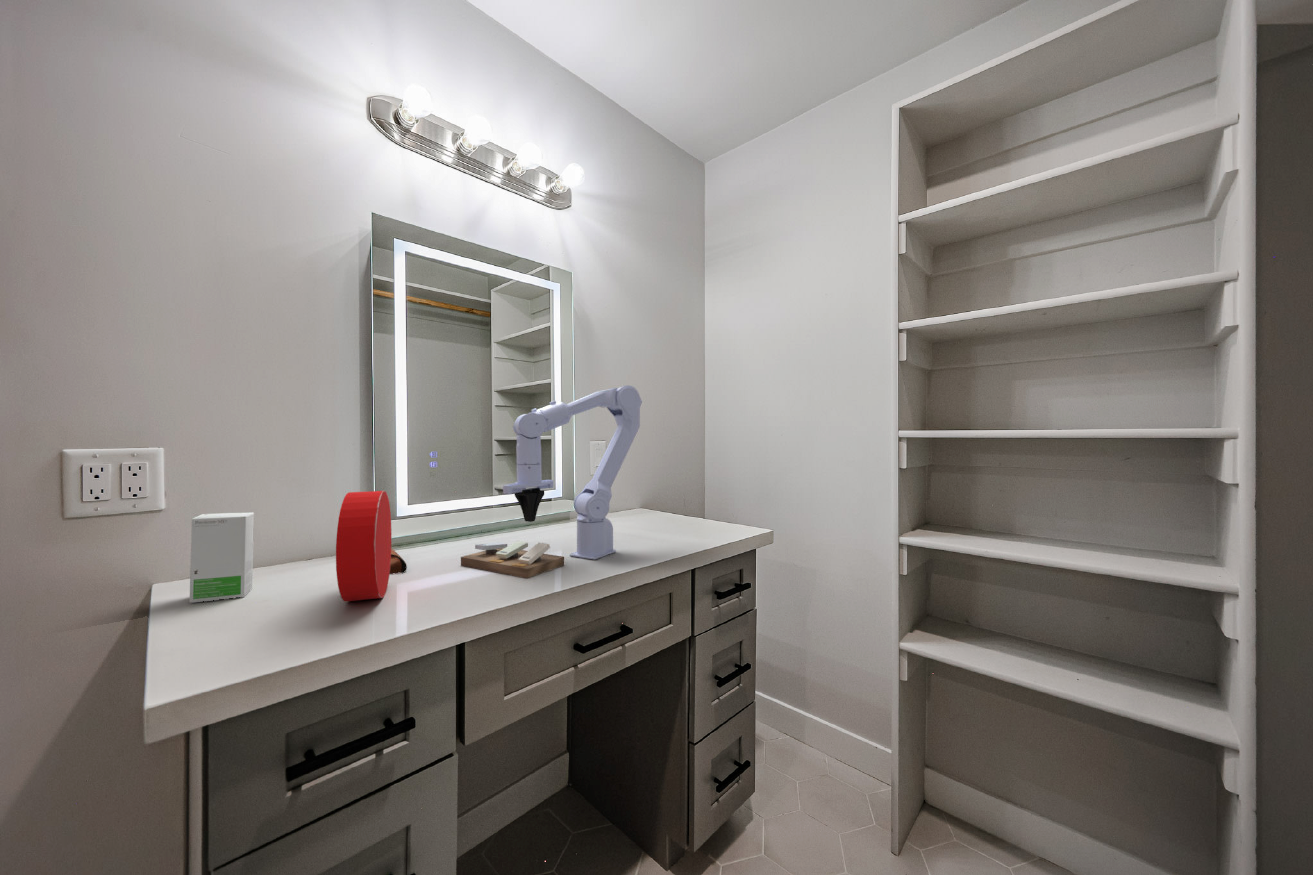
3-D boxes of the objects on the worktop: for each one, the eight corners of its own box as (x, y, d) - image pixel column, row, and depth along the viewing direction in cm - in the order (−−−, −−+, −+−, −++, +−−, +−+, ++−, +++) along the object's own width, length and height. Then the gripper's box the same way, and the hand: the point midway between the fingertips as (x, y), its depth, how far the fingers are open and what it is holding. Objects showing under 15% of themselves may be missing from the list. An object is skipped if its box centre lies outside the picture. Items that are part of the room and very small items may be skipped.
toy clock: (359, 584, 103) (359, 486, 103) (391, 581, 105) (391, 485, 105) (336, 617, 85) (335, 498, 84) (375, 613, 87) (374, 497, 87)
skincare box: (188, 604, 91) (187, 518, 91) (200, 594, 97) (199, 513, 97) (246, 597, 95) (245, 515, 95) (255, 587, 101) (254, 510, 101)
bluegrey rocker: (497, 546, 125) (498, 542, 125) (507, 547, 123) (507, 543, 123) (475, 548, 119) (475, 544, 119) (484, 550, 117) (484, 545, 117)
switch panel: (500, 554, 128) (500, 543, 128) (564, 565, 118) (564, 552, 118) (460, 565, 118) (460, 553, 118) (527, 578, 107) (527, 564, 107)
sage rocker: (518, 544, 121) (517, 540, 121) (528, 546, 120) (527, 542, 120) (496, 557, 115) (495, 552, 115) (506, 558, 114) (505, 554, 114)
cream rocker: (539, 546, 118) (538, 542, 117) (550, 547, 116) (549, 543, 116) (519, 562, 112) (518, 558, 112) (529, 564, 111) (528, 560, 110)
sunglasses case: (351, 561, 121) (367, 535, 123) (379, 571, 125) (395, 546, 127) (364, 578, 107) (382, 549, 109) (395, 589, 111) (412, 561, 113)
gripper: (538, 461, 128) (539, 515, 128) (493, 465, 116) (494, 524, 116) (559, 462, 124) (560, 517, 125) (515, 466, 112) (516, 527, 112)
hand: (529, 521), depth 120 cm, fingers closed
